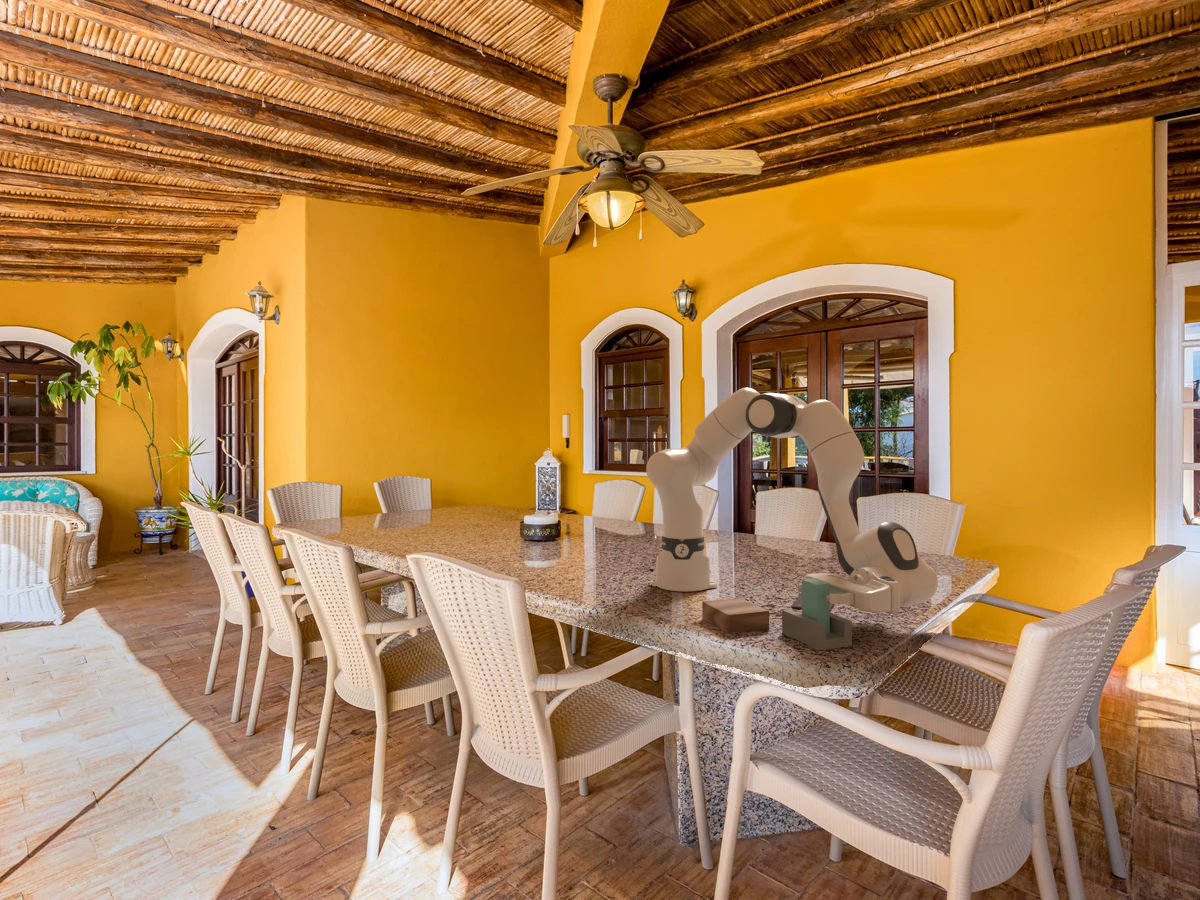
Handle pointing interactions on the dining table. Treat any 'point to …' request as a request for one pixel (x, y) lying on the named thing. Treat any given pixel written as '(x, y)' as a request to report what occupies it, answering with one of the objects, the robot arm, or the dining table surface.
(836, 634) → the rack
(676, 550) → the robot arm
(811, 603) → the sage green upright block
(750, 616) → the brown block
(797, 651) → the dining table surface
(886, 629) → the dining table surface
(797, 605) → the chocolate bar
